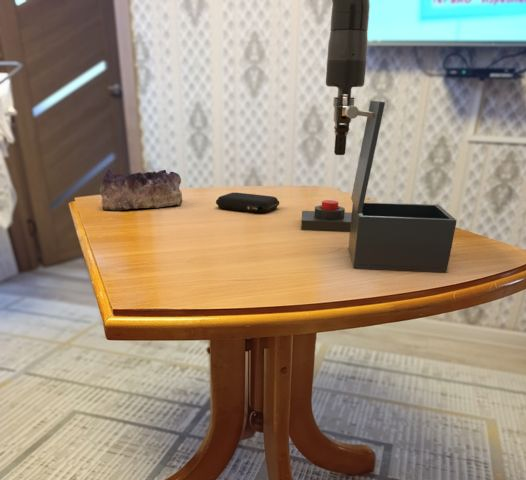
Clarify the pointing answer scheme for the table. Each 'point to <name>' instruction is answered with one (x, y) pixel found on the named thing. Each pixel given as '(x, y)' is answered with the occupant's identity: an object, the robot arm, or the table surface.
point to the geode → (140, 190)
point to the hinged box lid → (365, 149)
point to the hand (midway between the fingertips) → (339, 154)
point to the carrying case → (247, 202)
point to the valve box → (401, 237)
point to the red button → (330, 205)
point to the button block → (326, 220)
